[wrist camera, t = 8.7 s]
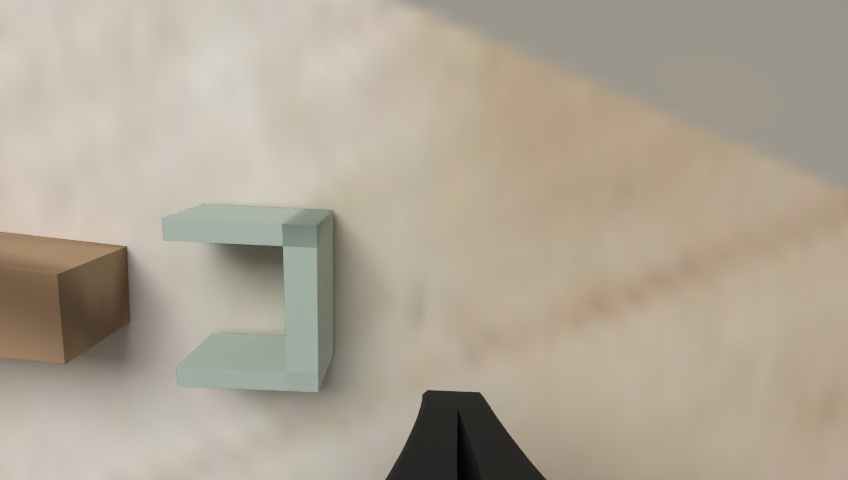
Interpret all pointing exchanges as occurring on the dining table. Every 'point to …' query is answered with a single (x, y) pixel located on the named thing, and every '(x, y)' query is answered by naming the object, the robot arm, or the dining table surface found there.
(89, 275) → the slat
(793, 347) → the dining table surface
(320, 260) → the sliding cap
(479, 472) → the robot arm
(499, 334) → the dining table surface
